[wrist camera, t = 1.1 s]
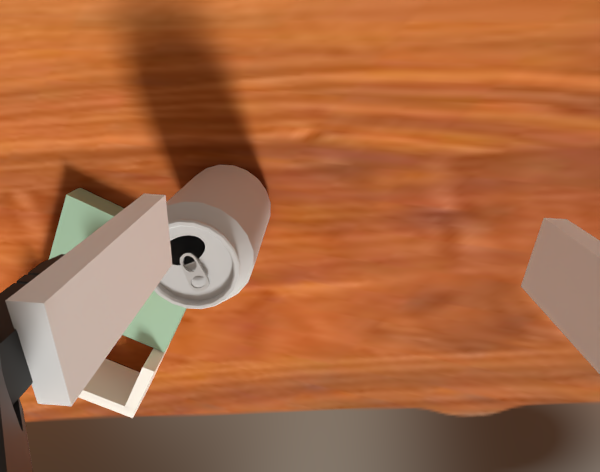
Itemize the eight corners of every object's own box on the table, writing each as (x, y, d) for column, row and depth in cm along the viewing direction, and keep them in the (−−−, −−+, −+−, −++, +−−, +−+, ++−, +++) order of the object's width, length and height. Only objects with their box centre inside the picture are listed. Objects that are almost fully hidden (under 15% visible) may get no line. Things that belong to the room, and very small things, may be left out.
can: (247, 147, 32) (210, 190, 22) (286, 223, 35) (270, 296, 24) (172, 182, 34) (102, 239, 23) (214, 253, 37) (170, 334, 26)
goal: (45, 342, 42) (15, 373, 38) (60, 294, 39) (30, 321, 35) (150, 384, 44) (132, 418, 40) (171, 341, 41) (154, 371, 37)
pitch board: (50, 288, 39) (37, 299, 37) (79, 187, 35) (66, 194, 33) (171, 339, 41) (164, 352, 39) (214, 250, 37) (208, 260, 35)
